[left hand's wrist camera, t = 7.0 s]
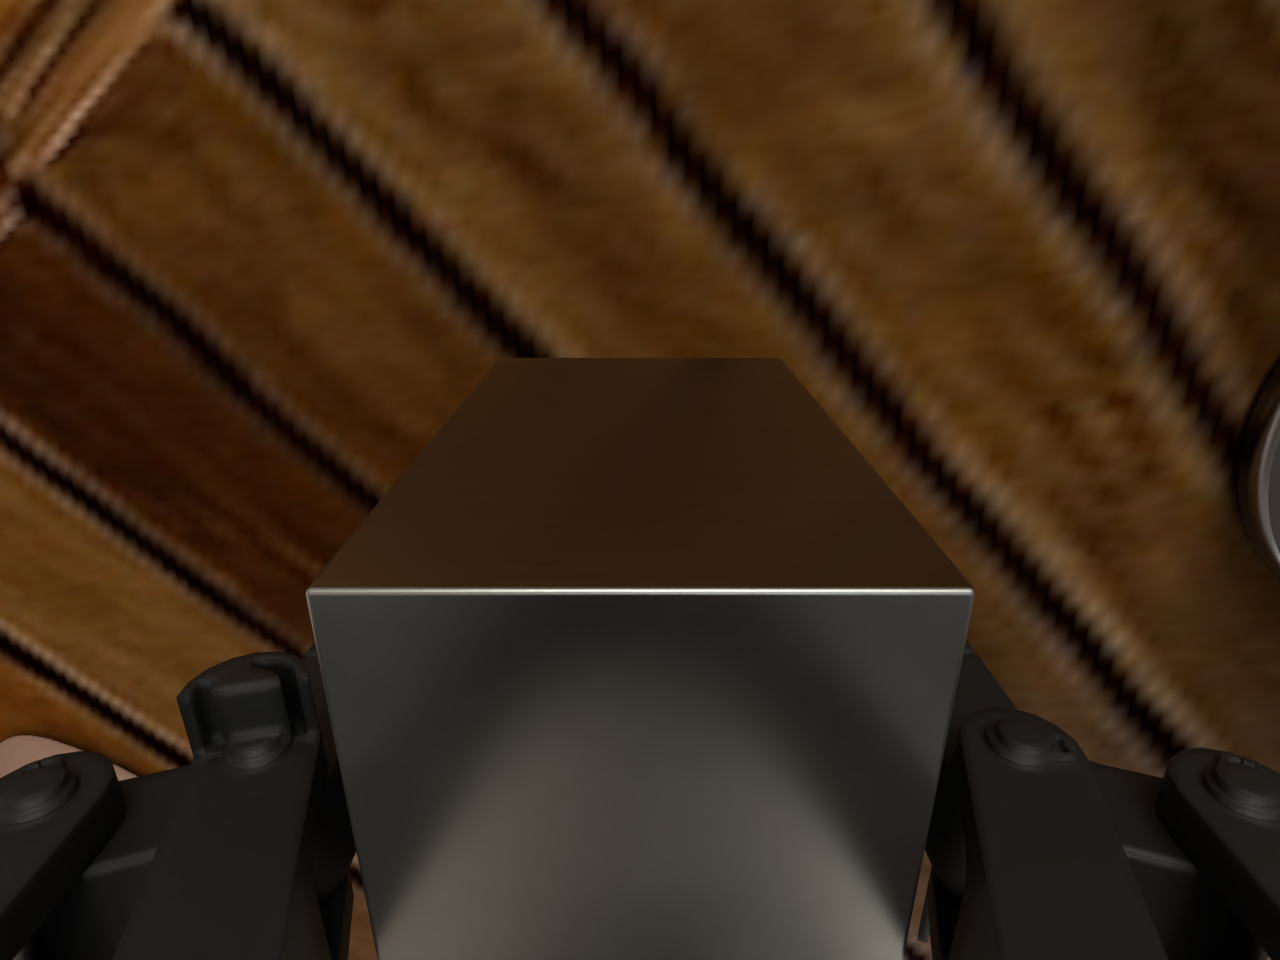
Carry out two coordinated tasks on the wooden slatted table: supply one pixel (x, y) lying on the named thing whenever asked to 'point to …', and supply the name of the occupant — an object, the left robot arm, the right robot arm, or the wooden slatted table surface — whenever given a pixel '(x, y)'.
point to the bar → (640, 675)
